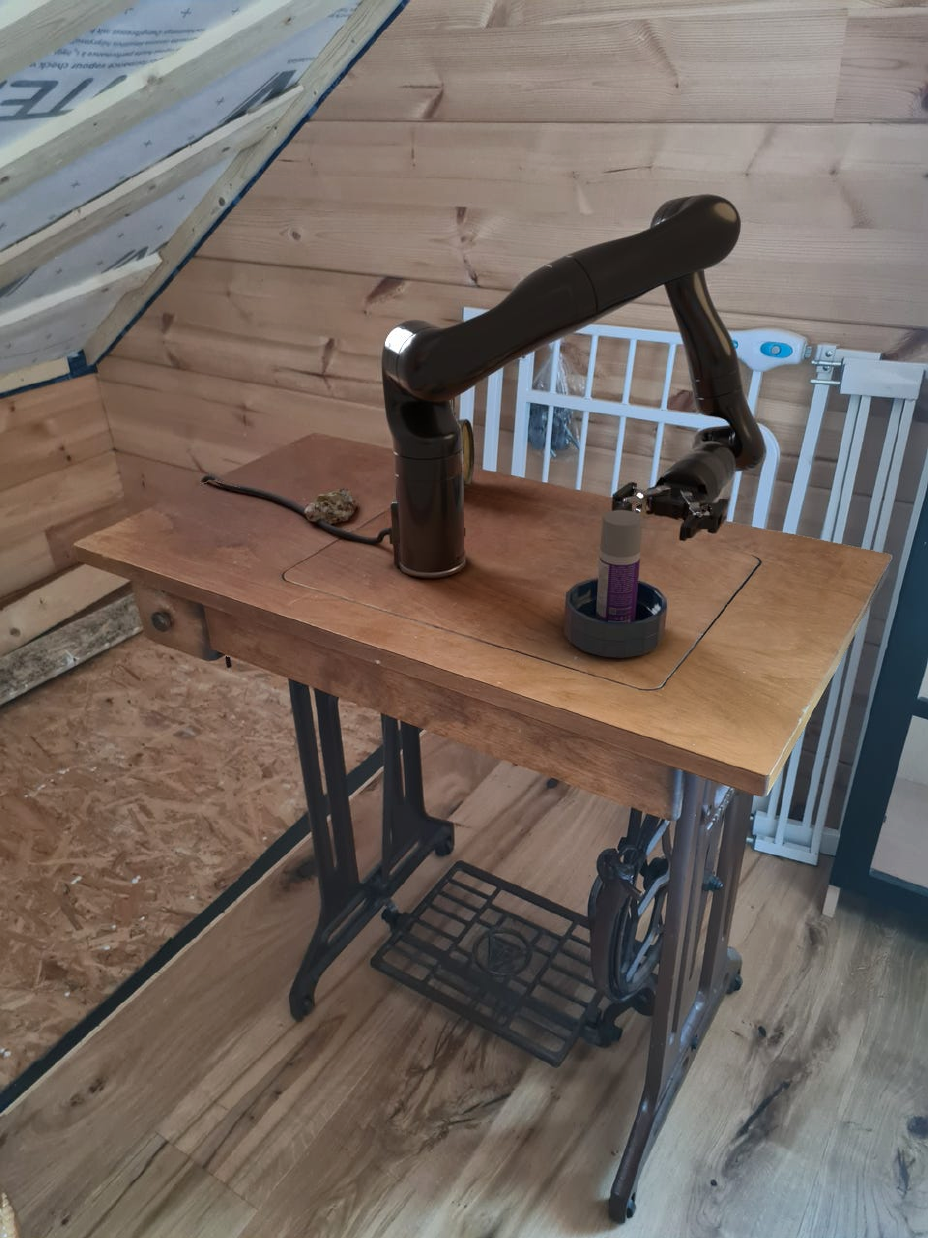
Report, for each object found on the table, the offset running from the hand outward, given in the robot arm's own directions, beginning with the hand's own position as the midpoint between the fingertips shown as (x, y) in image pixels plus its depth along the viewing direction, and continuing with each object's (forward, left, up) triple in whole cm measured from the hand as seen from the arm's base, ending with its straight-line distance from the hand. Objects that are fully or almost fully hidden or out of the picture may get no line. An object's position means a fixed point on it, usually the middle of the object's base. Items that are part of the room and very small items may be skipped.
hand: (649, 527), depth 114 cm
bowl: (0, -10, -11) cm, 15 cm away
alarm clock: (-42, +22, -11) cm, 49 cm away
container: (0, -10, -10) cm, 14 cm away
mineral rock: (-54, +4, -11) cm, 55 cm away
